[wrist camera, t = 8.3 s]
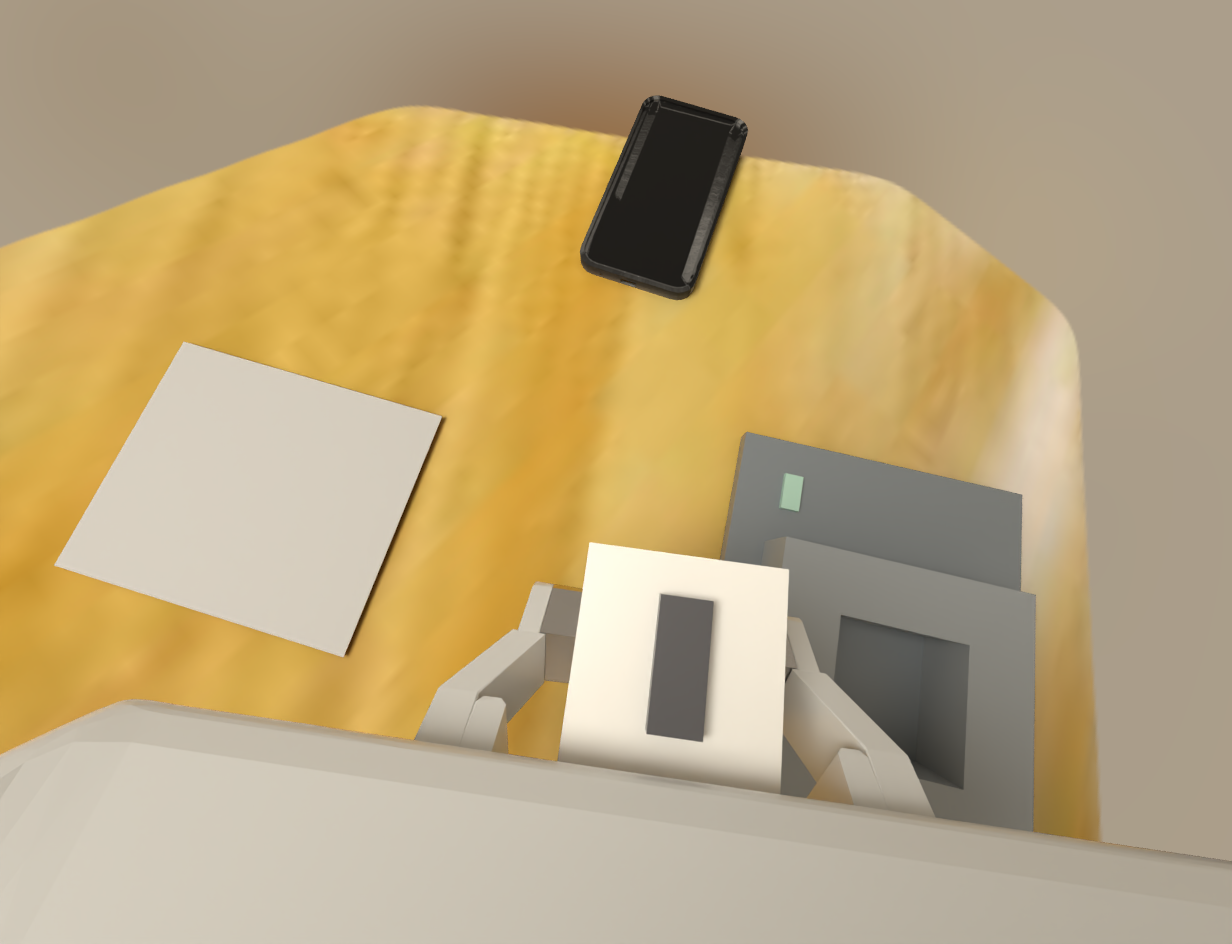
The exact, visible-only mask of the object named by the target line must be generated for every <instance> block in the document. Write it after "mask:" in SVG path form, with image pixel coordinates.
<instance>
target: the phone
mask: <svg viewBox="0 0 1232 944" xmlns="http://www.w3.org/2000/svg"><path fill="white" fill-rule="evenodd" d="M747 132H748V129H747V126H746V124H745V123H744V122H743V121H742V120H741V119H738V118H736V117H733V116H729V115H726V114H722V113H719V112H716V111H712V110H709V109H705V108H702V107H698V106H695V105H691V104H688V103H684V102H681V101H677V100H674V99H671V98H667V97H663V96H652V97H649V98H647V99H646V100H645V101H644V102H643V104H642V106H641V109H640V111H639V113H638V116H637V118H636V120H635V123H634V125H633V127H632V129H631V132H630V134H629V136H628V139H627V141H626V143H625V146H624V148H623V150H622V153H621V155H620V157H619V160H618V162H617V164H616V167H615V169H614V171H613V174H612V176H611V178H610V181H609V183H608V185H607V188H606V190H605V192H604V195H603V197H602V199H601V202H600V204H599V206H598V209H597V211H596V213H595V216H594V218H593V220H592V223H591V225H590V227H589V229H588V232H587V234H586V236H585V239H584V241H583V243H582V246H581V249H580V256H581V264H582V266H583V268H584V269H585V270H586V271H587V272H589V273H591V274H594V275H597V276H600V277H603V278H606V279H609V280H613V281H616V282H619V283H622V284H625V285H628V286H631V287H635V288H638V289H641V290H644V291H647V292H650V293H653V294H657V295H660V296H663V297H666V298H669V299H673V300H681V299H684V298H687V297H688V296H689V295H690V294H691V293H692V291H693V289H694V286H695V283H696V280H697V277H698V275H699V272H700V269H701V266H702V263H703V260H704V257H705V255H706V252H707V249H708V246H709V243H710V240H711V237H712V235H713V232H714V229H715V226H716V223H717V220H718V217H719V215H720V212H721V209H722V206H723V203H724V200H725V197H726V195H727V192H728V189H729V186H730V183H731V180H732V177H733V175H734V172H735V169H736V166H737V163H738V160H739V157H740V155H741V152H742V149H743V146H744V143H745V140H746V136H747ZM600 274H602V275H600ZM622 279H623V280H626V281H630V282H633V283H636V285H635V284H632V283H629V282H626V281H622Z"/></svg>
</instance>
